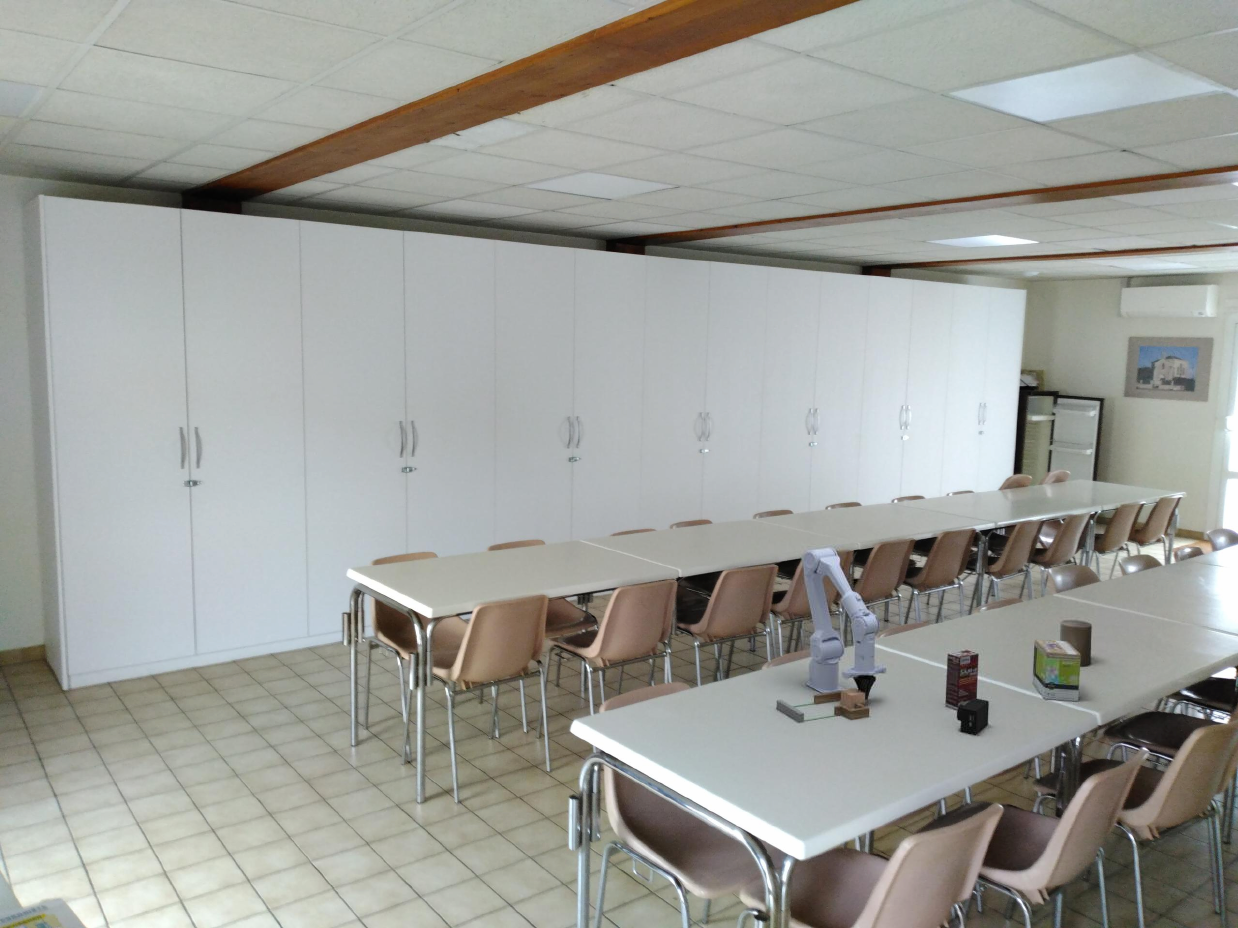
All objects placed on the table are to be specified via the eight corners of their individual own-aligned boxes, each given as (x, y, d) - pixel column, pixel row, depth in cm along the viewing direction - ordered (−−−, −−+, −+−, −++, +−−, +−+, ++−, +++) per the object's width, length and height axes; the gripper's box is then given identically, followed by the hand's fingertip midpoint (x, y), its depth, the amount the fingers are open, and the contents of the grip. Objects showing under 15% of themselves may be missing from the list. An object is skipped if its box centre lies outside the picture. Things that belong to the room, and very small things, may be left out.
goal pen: (776, 708, 266) (776, 700, 266) (811, 702, 270) (811, 694, 270) (799, 722, 255) (799, 713, 254) (835, 716, 259) (835, 707, 259)
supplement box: (958, 710, 263) (959, 657, 262) (944, 705, 268) (946, 653, 266) (977, 705, 268) (979, 653, 266) (964, 700, 272) (966, 649, 270)
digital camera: (968, 720, 256) (969, 696, 256) (988, 724, 253) (988, 700, 252) (955, 731, 248) (956, 706, 248) (976, 735, 245) (976, 710, 244)
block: (840, 702, 270) (840, 689, 270) (854, 700, 272) (855, 687, 272) (850, 708, 265) (850, 695, 265) (864, 706, 267) (865, 693, 267)
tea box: (1079, 701, 270) (1081, 653, 269) (1043, 699, 272) (1045, 651, 271) (1065, 685, 285) (1067, 639, 284) (1031, 683, 287) (1033, 638, 286)
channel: (813, 702, 270) (813, 694, 270) (841, 698, 274) (841, 690, 274) (845, 720, 256) (845, 712, 256) (874, 715, 260) (874, 707, 259)
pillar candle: (1096, 666, 304) (1097, 622, 303) (1066, 666, 304) (1068, 622, 303) (1081, 658, 314) (1083, 615, 312) (1053, 658, 314) (1055, 615, 313)
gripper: (852, 661, 262) (851, 706, 264) (893, 655, 268) (892, 699, 269) (838, 654, 269) (837, 698, 270) (877, 649, 274) (877, 692, 276)
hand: (863, 698), depth 270 cm, fingers closed
